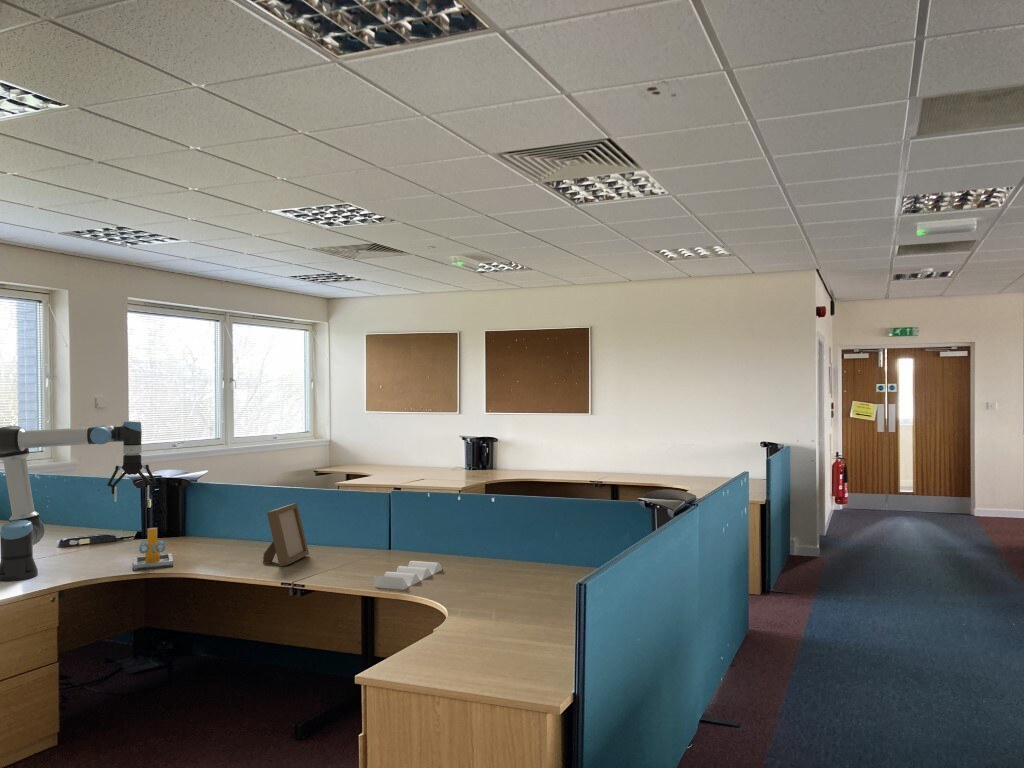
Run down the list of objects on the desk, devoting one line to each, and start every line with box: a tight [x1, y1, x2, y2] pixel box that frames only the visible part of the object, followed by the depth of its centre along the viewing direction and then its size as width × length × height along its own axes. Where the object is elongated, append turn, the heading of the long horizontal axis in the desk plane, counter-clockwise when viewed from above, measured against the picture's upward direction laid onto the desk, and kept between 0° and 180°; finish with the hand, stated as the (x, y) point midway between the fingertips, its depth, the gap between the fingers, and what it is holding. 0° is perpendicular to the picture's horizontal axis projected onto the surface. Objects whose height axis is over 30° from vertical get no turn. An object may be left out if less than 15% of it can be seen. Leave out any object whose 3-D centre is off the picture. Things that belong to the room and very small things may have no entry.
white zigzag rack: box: [373, 560, 443, 591], centre depth 324 cm, size 13×35×5 cm, turn 159°
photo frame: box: [262, 502, 310, 567], centre depth 359 cm, size 15×22×25 cm
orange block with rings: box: [138, 527, 166, 563], centre depth 357 cm, size 12×10×15 cm
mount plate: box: [133, 553, 174, 571], centre depth 357 cm, size 16×18×2 cm
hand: (132, 500), depth 361 cm, fingers open, 13 cm apart
